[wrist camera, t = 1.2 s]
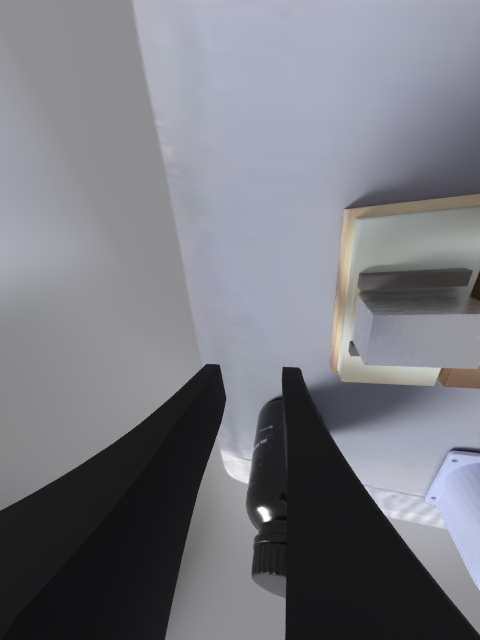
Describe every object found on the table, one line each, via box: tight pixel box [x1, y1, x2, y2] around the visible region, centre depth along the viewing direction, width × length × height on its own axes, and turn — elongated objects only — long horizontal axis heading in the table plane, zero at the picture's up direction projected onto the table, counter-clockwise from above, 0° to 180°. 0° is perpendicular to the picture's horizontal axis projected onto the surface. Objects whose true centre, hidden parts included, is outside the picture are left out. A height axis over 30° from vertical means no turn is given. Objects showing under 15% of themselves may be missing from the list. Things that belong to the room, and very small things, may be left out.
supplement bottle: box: [246, 399, 322, 598], centre depth 18 cm, size 7×7×12 cm
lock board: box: [330, 193, 480, 389], centre depth 12 cm, size 12×13×6 cm
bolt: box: [351, 291, 480, 369], centre depth 12 cm, size 3×5×3 cm, turn 97°
